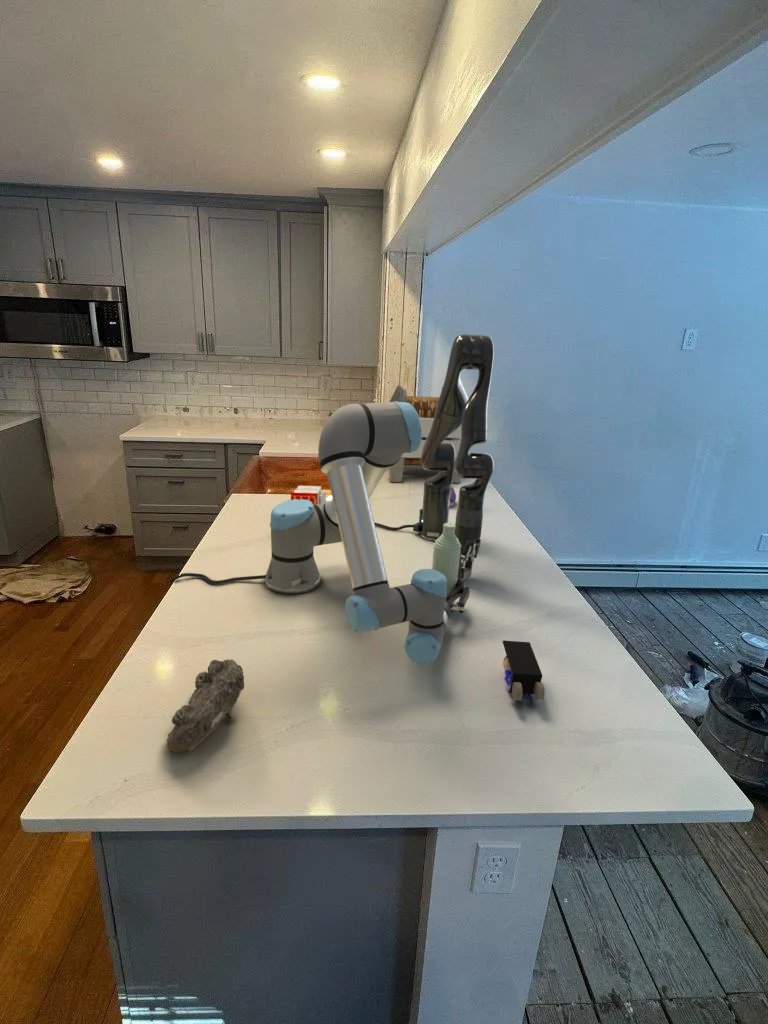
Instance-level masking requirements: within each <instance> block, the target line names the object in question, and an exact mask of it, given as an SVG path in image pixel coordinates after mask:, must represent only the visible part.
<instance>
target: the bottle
mask: <svg viewBox="0 0 768 1024" xmlns="http://www.w3.org/2000/svg"><path fill="white" fill-rule="evenodd" d="M455 528H456V525H455V523H452V522H448V523H445V524H444V525H443V534H442V535H441V536H440V537H439V538H438V539H437V540H436V541H434V544H433V552H432V561H431V562H432V564H431V569H432V570H436V571H439V572H441V574H443V575H444V576H445V577H446V580H447V593H449V592H451V591H452V590H453V589H455V588H456V583H457V579H458V578H457V577H458V568H459V559H460V550H461V545H460V542H459V541H458V539H457V537H456V536H455ZM455 604H456V600H455V601H454V602H453V605H455Z"/></svg>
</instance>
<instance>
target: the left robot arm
mask: <svg viewBox="0 0 768 1024" xmlns="http://www.w3.org/2000/svg"><path fill="white" fill-rule="evenodd" d="M421 438H422V431H421V423H420V419H419V416H418V413H417V411H416V410H415V408H414V407H413V406H412V405H411V404H409V403H405V402H387V401H386V402H385V401H384V402H371V403H370V402H369V403H368V402H367V403H349V404H346V405H343V406H341V407H339V408H337V409H336V410H335V411H333V412H332V414H330V416H329V417H328V419H327V420H326V422H325V424H324V425H323V427H322V430H321V433H320V436H319V443H318V447H317V448H318V451H317V453H318V462H319V467H320V471H321V473H323V474H324V475H326V477H327V481H328V485H329V489H330V494H329V495H328V496H327V497H326V501H325V503H323V504H315V505H313V503H312V502H311V501H309V500H304V499H302V500H299V499H295V500H291V499H289V500H286V501H282V502H280V503H278V504H277V505H275V506H274V507H273V508H272V510H271V513H270V522H269V527H270V540H271V541H270V547H271V548H270V549H271V551H270V552H271V559H270V561H269V565H268V568H267V569H266V574H262V575H248V576H238V577H237V576H236V577H231V578H226V579H225V578H224V579H220V580H213V579H211V578H210V577H208V576H207V575H205V574H202V573H196V572H185V573H184V572H183V573H178V574H177V575H174V576H173V577H171V579H170V580H169V583H174V582H175V581H177V580H178V579H181V578H184V577H185V578H186V577H194V578H201V579H204V580H205V581H206V582H207V583H209V584H212V585H223V584H227V583H232V582H238V581H239V582H240V581H251V580H263V579H264V580H265V585H266V587H267V588H268V589H269V590H271V591H273V592H276V593H280V594H284V595H285V594H287V595H294V594H295V595H296V594H304V593H307V592H310V591H312V590H314V589H315V588H317V587H319V585H320V583H321V574H320V571H319V569H318V566H317V563H316V560H315V557H314V547H318V546H325V545H330V544H336V543H337V544H338V543H342V546H343V551H344V556H345V560H346V565H347V570H348V574H349V578H350V582H351V587H352V592H353V594H352V595H351V596H349V597H347V599H346V600H345V604H344V609H345V612H344V613H345V617H346V620H347V623H348V625H349V627H350V628H351V629H352V630H353V631H354V632H357V633H363V632H369V631H377V630H379V629H383V628H387V627H389V626H393V625H399V624H403V623H408V633H407V635H406V637H405V643H404V652H405V654H406V656H407V657H408V659H409V660H410V661H412V662H413V663H415V664H418V665H428V664H431V663H433V662H434V661H436V659H437V658H438V655H439V653H440V652H441V649H442V643H443V639H444V635H445V632H446V630H447V629H446V628H447V626H448V623H449V619H450V615H451V613H452V612H453V611H458V613H459V614H464V612H465V605H466V603H467V601H468V600H469V598H470V592H471V591H470V590H471V588H470V587H469V586H466V587H465V583H466V582H465V581H464V580H463V579H462V573H459V576H458V578H457V583H456V588H455V589H453V590H452V591H451V592H449V593H447V580H446V577H445V576H444V575H443V574H441V572H439V571H436V570H432V568H421V569H418V570H417V571H414V573H412V576H411V579H410V583H408V584H403V585H399V586H394V587H393V586H392V587H390V584H389V580H388V576H387V571H386V568H385V563H384V559H383V558H384V557H383V555H382V549H381V546H380V545H381V544H380V541H379V537H378V533H377V529H376V526H375V524H374V522H375V519H374V516H373V511H372V506H371V502H370V498H371V496H372V495H373V493H374V491H375V489H376V487H377V486H378V484H379V483H380V482H381V481H380V480H381V479H382V477H383V475H384V474H385V472H386V471H387V469H390V467H393V466H394V465H395V464H397V462H398V461H399V459H400V458H401V456H402V454H404V453H411V452H415V451H416V450H417V449H418V448H419V446H420V443H421ZM180 574H181V575H180ZM179 575H180V576H179ZM454 601H455V605H453V602H454Z"/></svg>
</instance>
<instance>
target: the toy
mask: <svg viewBox="0 0 768 1024" xmlns="http://www.w3.org/2000/svg"><path fill="white" fill-rule="evenodd" d="M326 492H327V491H326V489H324V490H323V491H322V485H298V486H297V487H296V488H295V489H293V492H290V500H295V499H299V500H302V499H304V500H309V501H311V502H312V503H313V505H315V504H323V503H325V501H326V499H327V496H326V495H327V493H326Z"/></svg>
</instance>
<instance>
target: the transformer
mask: <svg viewBox="0 0 768 1024" xmlns="http://www.w3.org/2000/svg"><path fill="white" fill-rule="evenodd" d="M442 388H443V386H442V387H441V389H442ZM407 394H408V393H407V390H406V389H404V388H403V387H402V385H399V384H398V385H397V386H396V388H395V390H394V392H393V394H392V395H391V398H390V400H389V402H405V403H409V404H411V405H412V406H413V407H414V408H415V410H416V411H417V413H418V416H419V419H420V423H421V431H422V438H421V443H420V446H419V448H418V449H417V450H416V451H415V452H411V453H404V454H402V456H401V458H400V459H399V461H398V462H397V464H395V465H394V466H393V467H390V468H389V475H388V476H389V477H388V478H389V480H390V482H391V483H402V482H403V475H404V469H405V466H406V467H407V466H411V467H412V466H413V467H415V466H416V467H417V466H418V467H422V465H421V453H422V449H423V446H424V444H425V441H426V439H427V436H428V434H429V432H430V429H431V426H432V422H433V419H434V415H435V411H436V407H437V404H438V400H439V397H440V396H415V395H414V396H413V395H412V396H411V395H407ZM461 433H462V432H461V425H460V427H459V428H458V429H457V430H455V431H454V432H453V433H452V434H451V435H449V436H448V437H447V438H446V439H444V440H443V441H442V443H450V444H452V445H453V446H454V449H455V462H456V459H457V455H458V452H459V448H460V443H461ZM455 483H456V484H459V483H461V478H460V477H459V476H458V475H457V474H456V472H455V465H454V471H453V479H452V484H455Z"/></svg>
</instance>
